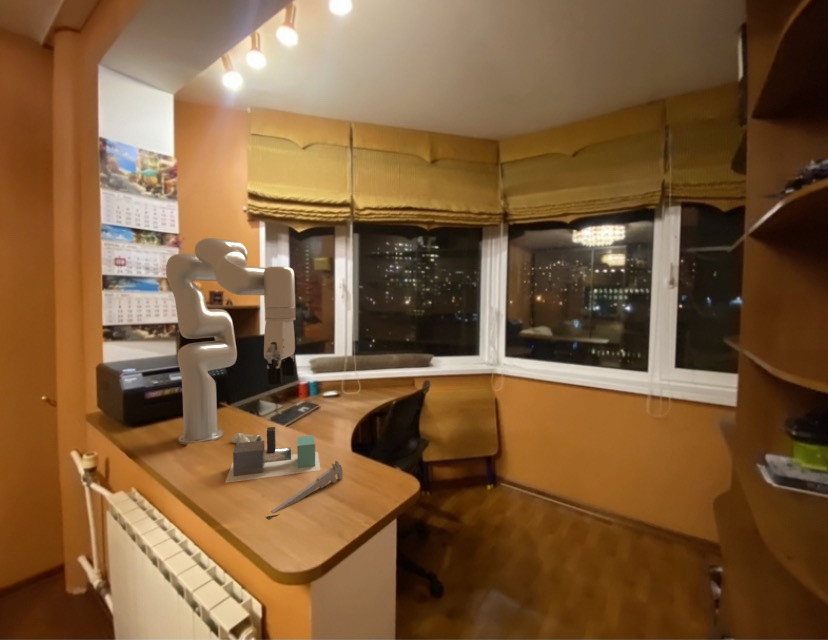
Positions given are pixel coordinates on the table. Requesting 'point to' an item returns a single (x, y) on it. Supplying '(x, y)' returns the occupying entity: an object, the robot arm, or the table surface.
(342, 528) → the table surface
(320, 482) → the caliper
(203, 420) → the robot arm
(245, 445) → the dark grey block
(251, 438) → the pipe fitting
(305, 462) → the socket block
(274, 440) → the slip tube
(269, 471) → the base board
